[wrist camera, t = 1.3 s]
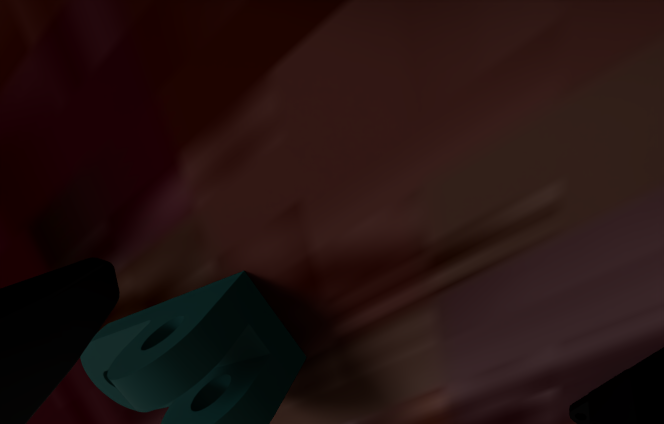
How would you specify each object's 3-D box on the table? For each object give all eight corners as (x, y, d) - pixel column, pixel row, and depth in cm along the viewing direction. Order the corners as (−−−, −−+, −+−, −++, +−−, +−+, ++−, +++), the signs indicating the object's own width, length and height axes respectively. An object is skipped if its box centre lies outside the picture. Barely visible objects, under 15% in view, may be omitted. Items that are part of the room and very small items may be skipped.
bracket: (245, 268, 29) (159, 368, 22) (308, 354, 30) (244, 469, 24) (88, 330, 39) (-3, 411, 32) (142, 393, 40) (65, 482, 34)
